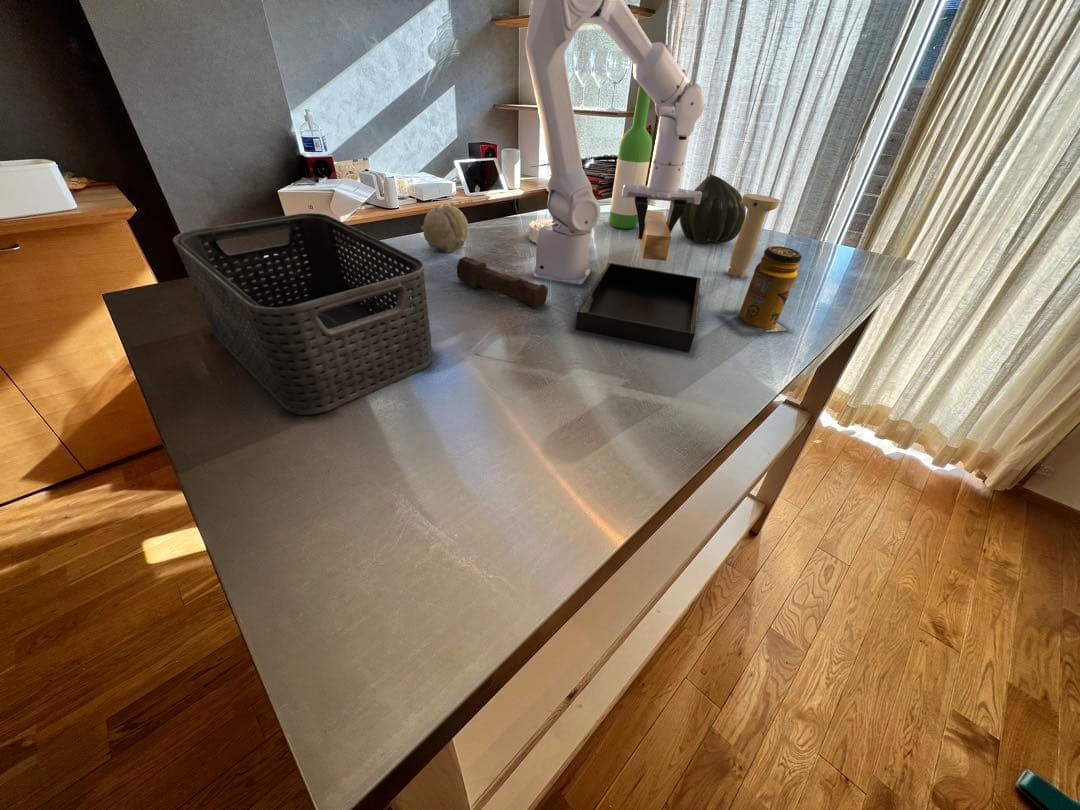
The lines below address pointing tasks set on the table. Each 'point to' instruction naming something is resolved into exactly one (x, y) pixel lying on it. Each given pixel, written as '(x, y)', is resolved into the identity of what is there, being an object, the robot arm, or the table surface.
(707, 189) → the squash
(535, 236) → the mooncake
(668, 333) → the black tray
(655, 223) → the stick
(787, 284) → the condiment
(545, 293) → the hand tool
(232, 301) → the storage bin
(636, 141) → the wine bottle
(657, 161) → the robot arm
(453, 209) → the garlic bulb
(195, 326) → the table surface
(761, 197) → the handle
